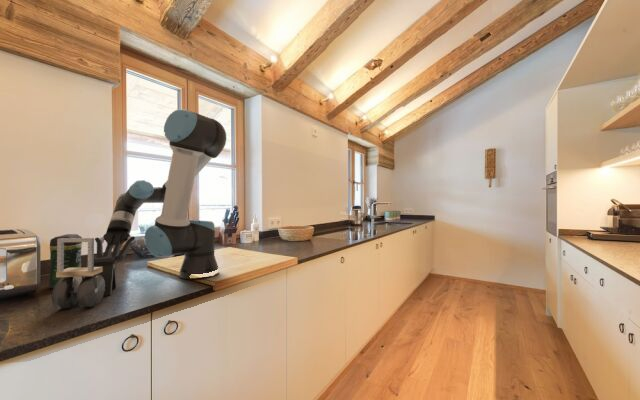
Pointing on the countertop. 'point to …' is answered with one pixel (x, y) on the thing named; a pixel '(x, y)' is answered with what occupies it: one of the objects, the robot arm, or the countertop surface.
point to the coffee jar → (70, 256)
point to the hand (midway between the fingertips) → (103, 277)
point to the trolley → (77, 281)
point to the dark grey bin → (107, 273)
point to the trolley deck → (79, 272)
